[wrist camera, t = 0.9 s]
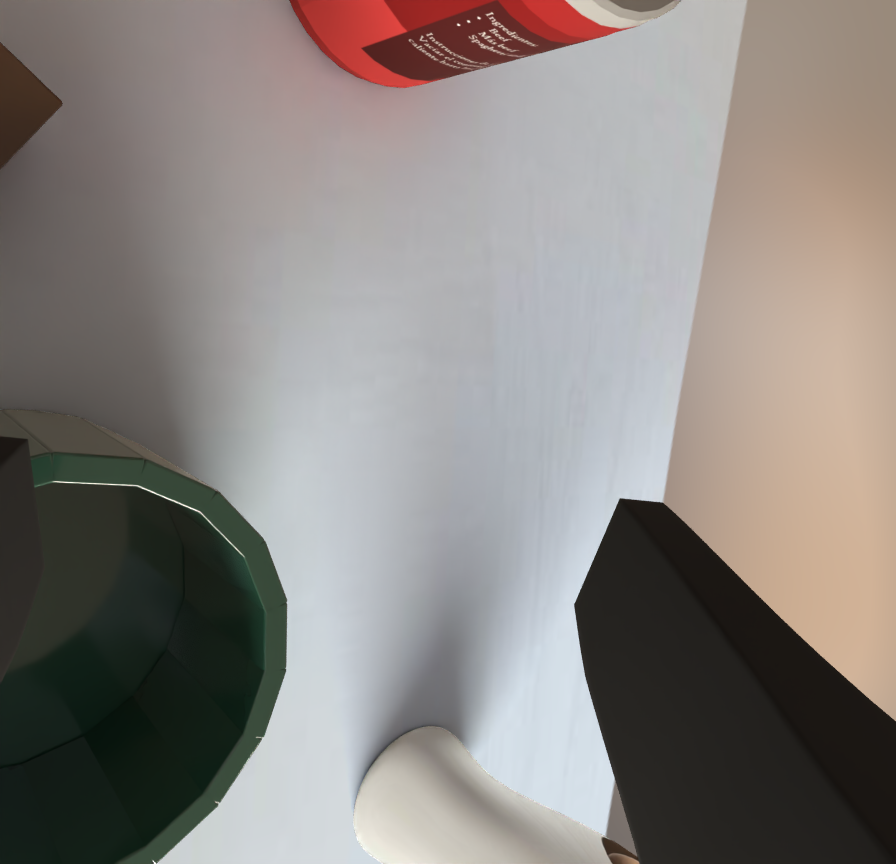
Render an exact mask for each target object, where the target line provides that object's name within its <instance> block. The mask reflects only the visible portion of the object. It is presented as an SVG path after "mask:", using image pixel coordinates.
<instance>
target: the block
mask: <svg viewBox="0 0 896 864" xmlns="http://www.w3.org/2000/svg"><path fill="white" fill-rule="evenodd" d="M62 104H63V103H62V101H61V100H60V99H59V98H58V97H57V96H56V95H55V94H54V93H53V92H52V91H51V90H50V89H49V88H48V87H46V86H45V85H44V84H43V83H42V82H41V81H40V80H39V79H38V78H37V77H36V76H35V75H34V74H33V73H32V72H31V71H30V70H29V69H28V68H27V67H26V66H25V65H24V64H23V63H21V62H20V61H19V60H18V59H17V58H16V57H15V56H14V55H13V54H12V53H11V52H10V51H9V50H8V49H7V48H6V47H5V46H4V45H3V44H2V43H1V42H0V169H1V168H2V167H3V166H4V165H5V164H6V163H7V162H8V161H9V160H10V159H11V158H12V157H13V156H14V155H15V154H16V153H17V152H18V151H19V150H20V149H21V148H22V147H23V146H24V145H25V143H26V142H27V141H28V140H29V139H30V138H31V137H32V136H33V135H34V134H35V133H36V132H37V131H38V130H39V129H40V128H41V127H42V126H43V125H44V124H45V123H46V122H47V121H48V120H49V119H50V118H51V117H52V116H53V115H54V113H55V112H56V111H57V110H58V109H59V108H60V107H61V106H62Z"/></svg>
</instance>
